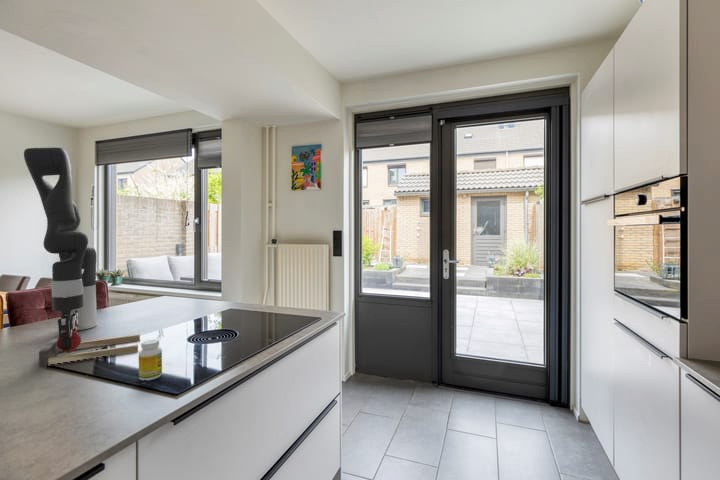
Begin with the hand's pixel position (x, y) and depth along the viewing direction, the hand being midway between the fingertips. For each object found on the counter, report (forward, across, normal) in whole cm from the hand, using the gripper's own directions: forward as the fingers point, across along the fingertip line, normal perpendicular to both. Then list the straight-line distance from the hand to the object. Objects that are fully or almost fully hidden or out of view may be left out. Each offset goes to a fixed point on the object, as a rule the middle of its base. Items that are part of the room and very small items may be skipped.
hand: (69, 346), depth 107 cm
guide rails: (+3, 0, +6) cm, 7 cm away
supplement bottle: (+3, +32, +22) cm, 39 cm away
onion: (+2, 0, 0) cm, 2 cm away
